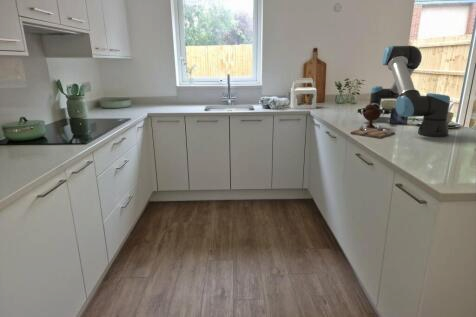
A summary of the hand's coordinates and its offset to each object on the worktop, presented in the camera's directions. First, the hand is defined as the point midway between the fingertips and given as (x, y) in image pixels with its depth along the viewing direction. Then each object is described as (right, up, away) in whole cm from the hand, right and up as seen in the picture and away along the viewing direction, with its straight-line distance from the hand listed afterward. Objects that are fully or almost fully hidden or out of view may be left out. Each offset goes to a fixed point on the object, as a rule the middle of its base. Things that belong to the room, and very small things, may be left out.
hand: (372, 113), depth 216 cm
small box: (+19, -7, +4) cm, 21 cm away
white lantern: (-28, +18, +91) cm, 97 cm away
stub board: (-10, -16, -24) cm, 31 cm away
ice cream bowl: (-3, -10, -5) cm, 12 cm away
